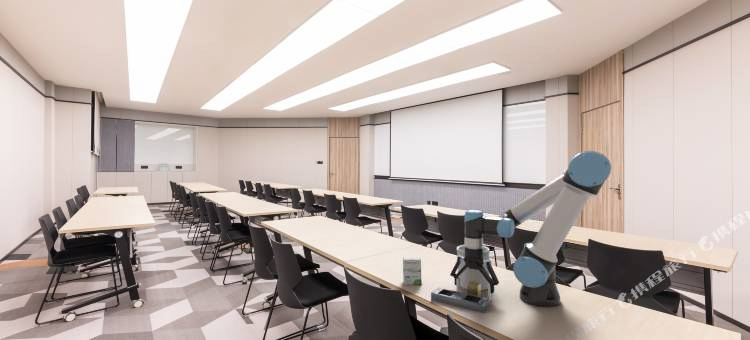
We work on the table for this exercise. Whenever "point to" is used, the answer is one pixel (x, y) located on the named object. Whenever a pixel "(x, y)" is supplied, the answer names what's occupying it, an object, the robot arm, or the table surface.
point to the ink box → (412, 271)
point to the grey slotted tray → (461, 299)
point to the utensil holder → (472, 270)
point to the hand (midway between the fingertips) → (473, 296)
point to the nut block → (474, 288)
